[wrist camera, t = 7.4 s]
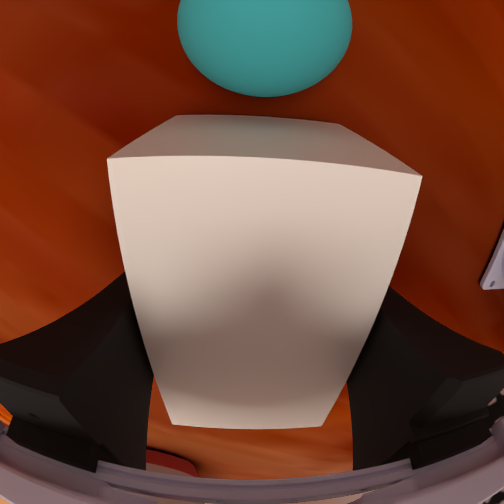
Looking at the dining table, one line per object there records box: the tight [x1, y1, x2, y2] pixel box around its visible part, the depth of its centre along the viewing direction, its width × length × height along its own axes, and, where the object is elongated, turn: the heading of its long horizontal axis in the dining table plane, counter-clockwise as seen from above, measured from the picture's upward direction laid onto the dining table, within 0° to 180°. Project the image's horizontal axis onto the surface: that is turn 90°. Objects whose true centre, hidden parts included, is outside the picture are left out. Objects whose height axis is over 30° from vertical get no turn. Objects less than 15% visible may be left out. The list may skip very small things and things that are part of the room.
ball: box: [177, 0, 352, 97], centre depth 7 cm, size 5×5×5 cm
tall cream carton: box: [107, 115, 422, 429], centre depth 10 cm, size 6×10×6 cm, turn 177°
